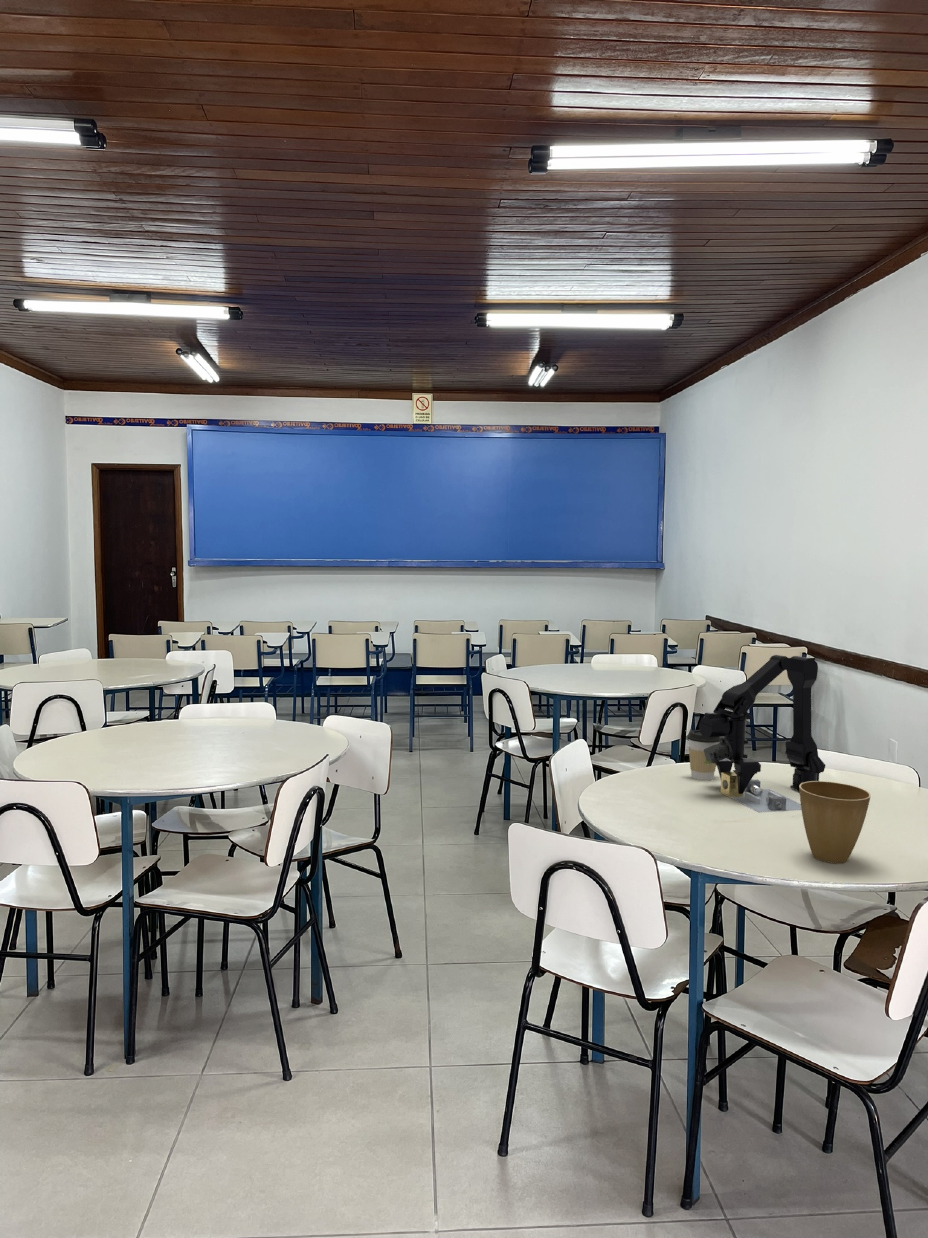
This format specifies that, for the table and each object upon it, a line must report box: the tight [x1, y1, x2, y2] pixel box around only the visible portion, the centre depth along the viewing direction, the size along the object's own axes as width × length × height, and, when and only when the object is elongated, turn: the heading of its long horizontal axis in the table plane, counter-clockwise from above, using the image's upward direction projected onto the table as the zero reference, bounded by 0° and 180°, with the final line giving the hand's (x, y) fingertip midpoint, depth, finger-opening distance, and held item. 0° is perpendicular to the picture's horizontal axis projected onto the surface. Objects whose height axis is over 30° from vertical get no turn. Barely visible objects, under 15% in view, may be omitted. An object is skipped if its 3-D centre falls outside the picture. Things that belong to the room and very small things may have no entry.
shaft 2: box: [766, 796, 786, 810], centre depth 228 cm, size 6×4×3 cm
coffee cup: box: [686, 729, 721, 781], centre depth 258 cm, size 10×10×15 cm
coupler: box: [720, 771, 744, 798], centre depth 240 cm, size 5×4×6 cm
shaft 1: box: [744, 779, 763, 796], centre depth 242 cm, size 6×4×3 cm
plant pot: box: [798, 780, 871, 864], centre depth 193 cm, size 15×15×16 cm
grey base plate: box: [718, 788, 802, 813], centre depth 235 cm, size 16×20×3 cm
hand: (732, 789), depth 240 cm, fingers open, 8 cm apart
